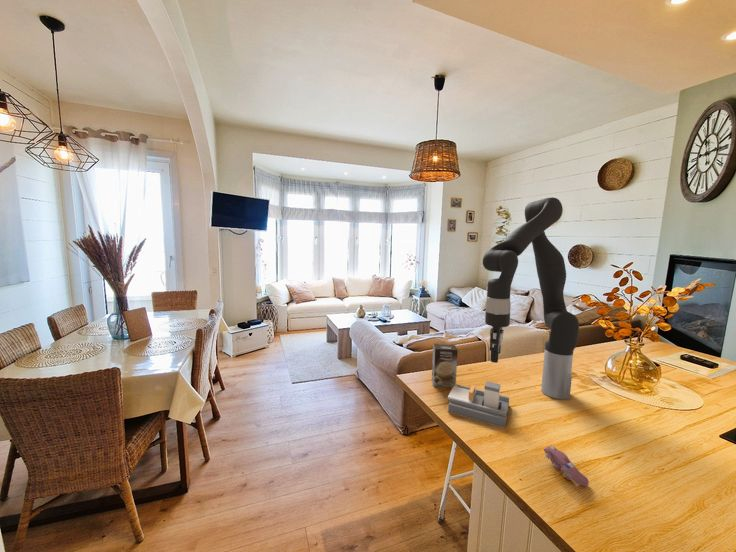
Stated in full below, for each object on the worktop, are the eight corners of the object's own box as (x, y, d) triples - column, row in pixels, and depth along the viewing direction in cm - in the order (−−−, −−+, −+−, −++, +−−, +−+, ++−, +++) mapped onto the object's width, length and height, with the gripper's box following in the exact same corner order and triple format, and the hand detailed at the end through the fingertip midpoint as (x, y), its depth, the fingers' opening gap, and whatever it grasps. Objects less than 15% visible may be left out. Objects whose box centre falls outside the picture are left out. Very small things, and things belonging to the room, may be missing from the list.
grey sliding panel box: (508, 405, 108) (509, 394, 107) (504, 428, 95) (505, 416, 94) (458, 392, 116) (458, 382, 116) (448, 412, 103) (448, 400, 103)
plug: (498, 411, 104) (500, 384, 103) (497, 417, 101) (498, 389, 99) (484, 407, 106) (486, 381, 105) (483, 413, 103) (484, 385, 102)
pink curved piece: (546, 464, 82) (538, 444, 80) (560, 456, 82) (552, 436, 81) (576, 495, 72) (567, 473, 71) (592, 485, 72) (583, 463, 71)
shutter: (475, 393, 110) (476, 383, 110) (471, 405, 102) (471, 394, 102) (453, 387, 114) (454, 378, 113) (447, 398, 106) (448, 388, 106)
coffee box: (433, 386, 121) (434, 348, 119) (431, 379, 127) (432, 343, 125) (456, 388, 120) (457, 349, 118) (453, 380, 126) (454, 344, 124)
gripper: (488, 305, 107) (486, 348, 109) (482, 314, 94) (480, 363, 96) (511, 307, 103) (509, 352, 105) (508, 316, 91) (506, 367, 93)
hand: (495, 357), depth 101 cm, fingers open, 8 cm apart
